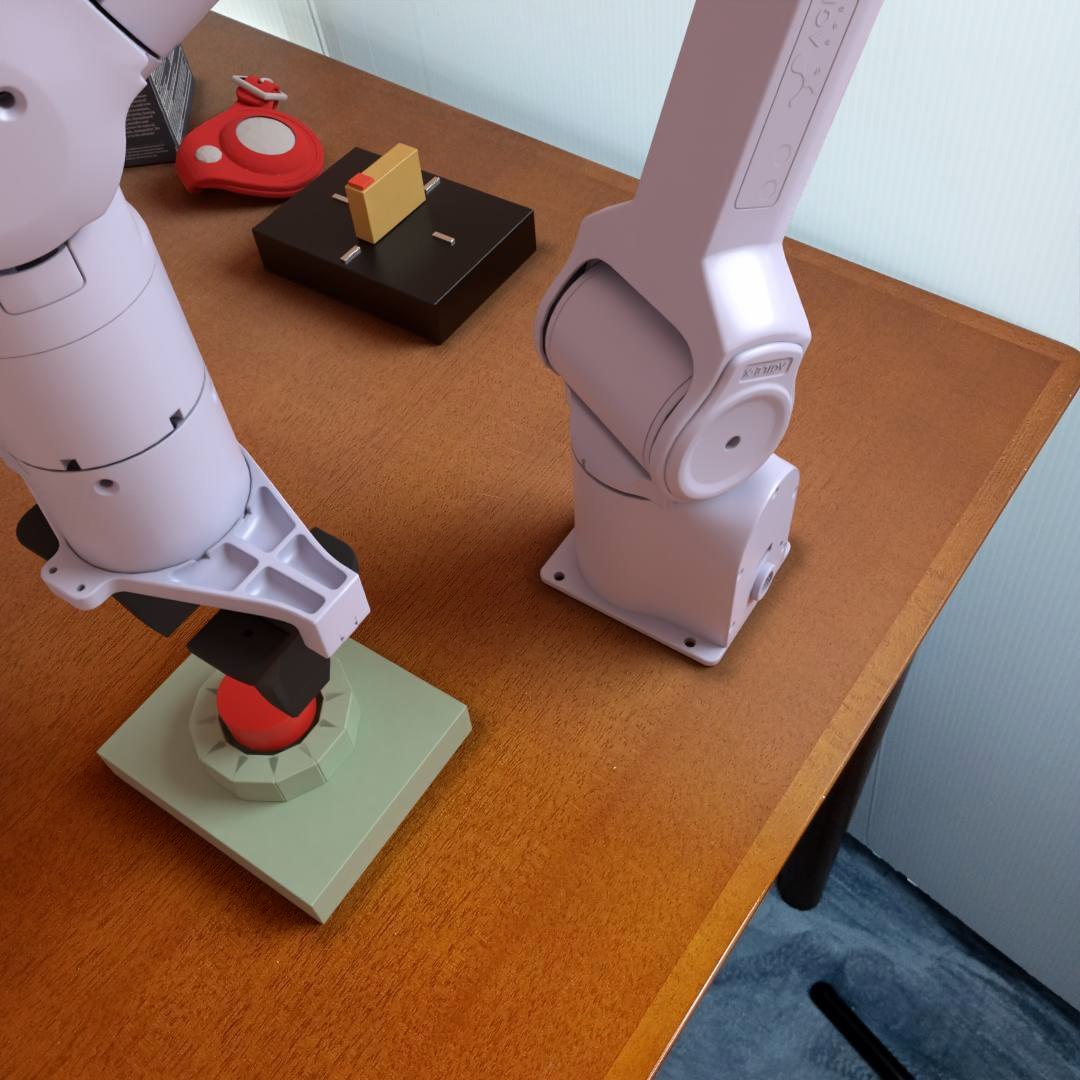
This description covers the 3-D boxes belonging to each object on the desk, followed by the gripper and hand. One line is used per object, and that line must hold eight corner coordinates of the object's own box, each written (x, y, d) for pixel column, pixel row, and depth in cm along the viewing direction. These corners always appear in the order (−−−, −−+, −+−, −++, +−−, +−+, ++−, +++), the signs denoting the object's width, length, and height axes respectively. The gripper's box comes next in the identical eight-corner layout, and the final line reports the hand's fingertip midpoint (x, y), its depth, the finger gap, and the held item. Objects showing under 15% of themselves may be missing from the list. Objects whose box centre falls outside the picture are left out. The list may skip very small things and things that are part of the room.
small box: (112, 92, 81) (53, -53, 73) (197, 82, 81) (149, -63, 73) (91, 172, 75) (25, 24, 66) (184, 161, 75) (130, 12, 66)
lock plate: (537, 250, 66) (534, 206, 64) (441, 345, 62) (433, 302, 59) (364, 185, 72) (355, 143, 69) (263, 269, 67) (249, 226, 64)
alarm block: (473, 729, 47) (462, 684, 43) (324, 925, 42) (299, 890, 39) (270, 610, 51) (247, 560, 48) (115, 774, 46) (77, 731, 43)
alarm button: (334, 699, 44) (325, 677, 42) (275, 768, 42) (264, 748, 41) (270, 659, 45) (259, 637, 44) (210, 724, 43) (196, 703, 42)
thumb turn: (408, 193, 66) (398, 138, 63) (426, 199, 65) (417, 145, 62) (356, 237, 63) (343, 182, 60) (374, 244, 63) (362, 189, 60)
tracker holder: (353, 164, 71) (208, 187, 66) (344, 215, 75) (206, 241, 70) (276, 50, 76) (135, 64, 71) (272, 103, 79) (137, 120, 74)
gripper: (-181, 388, 30) (31, 644, 41) (184, 614, 24) (317, 841, 35) (17, 249, 33) (164, 520, 44) (377, 421, 28) (444, 681, 39)
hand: (241, 653), depth 40 cm, fingers open, 6 cm apart
